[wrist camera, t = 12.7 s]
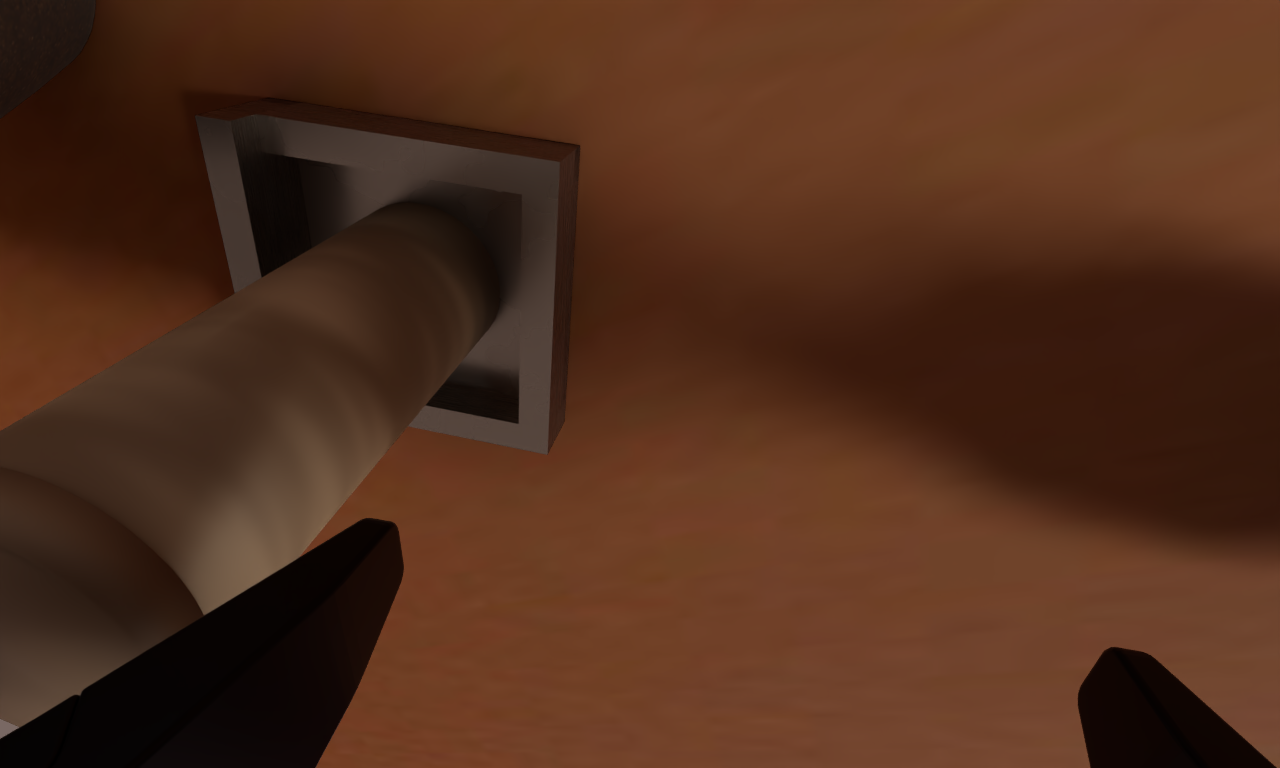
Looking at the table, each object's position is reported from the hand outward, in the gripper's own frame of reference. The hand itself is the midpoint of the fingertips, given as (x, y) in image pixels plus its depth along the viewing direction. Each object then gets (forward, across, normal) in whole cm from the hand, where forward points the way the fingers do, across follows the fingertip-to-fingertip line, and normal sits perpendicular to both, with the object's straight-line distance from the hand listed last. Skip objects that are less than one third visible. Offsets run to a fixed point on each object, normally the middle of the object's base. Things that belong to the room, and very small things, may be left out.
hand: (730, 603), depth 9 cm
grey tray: (+14, +10, +2) cm, 17 cm away
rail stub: (+13, +10, +2) cm, 16 cm away
